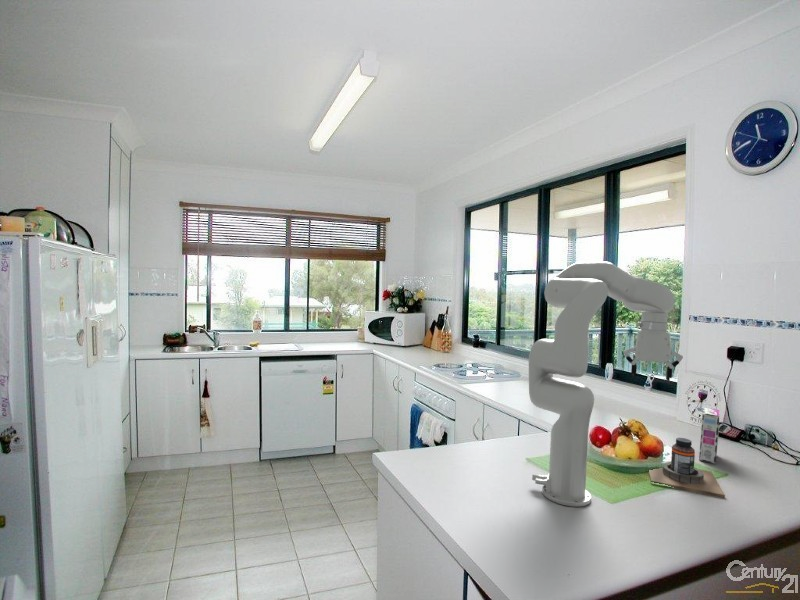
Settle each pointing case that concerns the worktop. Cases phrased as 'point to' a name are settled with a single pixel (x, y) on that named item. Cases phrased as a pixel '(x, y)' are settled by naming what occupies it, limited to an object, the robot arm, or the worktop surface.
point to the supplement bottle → (683, 457)
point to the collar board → (688, 481)
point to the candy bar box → (709, 435)
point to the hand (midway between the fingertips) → (650, 378)
